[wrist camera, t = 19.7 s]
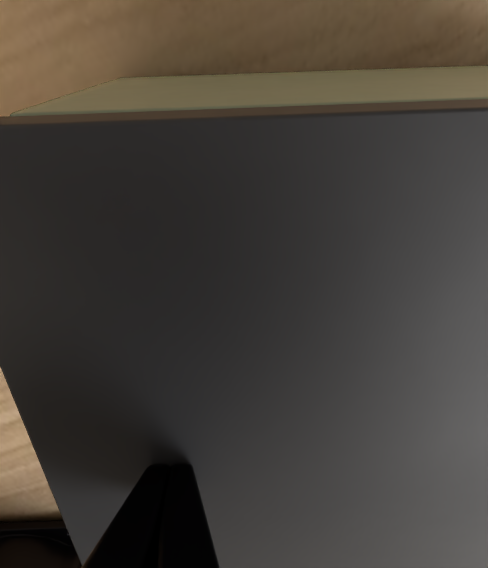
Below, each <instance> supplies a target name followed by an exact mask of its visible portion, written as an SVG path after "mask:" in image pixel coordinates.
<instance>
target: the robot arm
mask: <svg viewBox="0 0 488 568" xmlns="http://www.w3.org/2000/svg"><path fill="white" fill-rule="evenodd" d="M0 568H220V566H219V562H218V559H217V555H216V551H215V548H214V544H213V540H212V536H211V533H210V529H209V525H208V521H207V518H206V514H205V510H204V506H203V503H202V499H201V495H200V491H199V488H198V484H197V480H196V476H195V473H194V469H193V466H192V464H189V463H187V464H174V465H173V466H172V468H171V471H170V468H169V466H168V465H166V464H161V465H150V466H148V467H147V468H146V470H145V471H144V473H143V474H142V476H141V477H140V479H139V480H138V482H137V483H136V485H135V486H134V488H133V489H132V491H131V492H130V494H129V495H128V497H127V499H126V500H125V502H124V503H123V505H122V506H121V508H120V509H119V511H118V512H117V514H116V515H115V517H114V518H113V520H112V521H111V523H110V524H109V526H108V528H107V529H106V531H105V532H104V534H103V535H102V537H101V538H100V540H99V541H98V543H97V544H96V546H95V547H94V549H93V550H92V552H91V553H90V555H89V557H88V558H87V560H86V561H85V563H84V564H83V566H82V564H81V562H80V559H79V557H78V555H77V552H76V550H75V547H74V545H73V542H72V540H71V537H70V535H69V533H68V530H67V528H66V525H65V523H64V521H38V522H12V523H0Z"/></svg>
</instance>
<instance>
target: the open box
mask: <svg viewBox="0 0 488 568" xmlns="http://www.w3.org/2000/svg"><path fill="white" fill-rule="evenodd" d="M472 99H488V65H483V66H453V67H424V68H394V69H365V70H335V71H306V72H276V73H247V74H217V75H188V76H158V77H129V78H119V79H116V80H112V81H109V82H105V83H102V84H99V85H96V86H93V87H90V88H87V89H84V90H81V91H78V92H75V93H72V94H69V95H66V96H63V97H60V98H57V99H53V100H50V101H47V102H44V103H41V104H38V105H35V106H32V107H29V108H26V109H23V110H20V111H17V112H14V113H12V114H11V115H10V116H36V115H63V114H91V113H118V112H145V111H172V110H200V109H227V108H254V107H281V106H309V105H336V104H363V103H390V102H418V101H445V100H472Z"/></svg>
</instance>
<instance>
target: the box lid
mask: <svg viewBox="0 0 488 568" xmlns="http://www.w3.org/2000/svg"><path fill="white" fill-rule="evenodd" d="M0 367H1V369H2V372H3V374H4V376H5V379H6V381H7V384H8V386H9V389H10V391H11V394H12V396H13V398H14V401H15V403H16V406H17V408H18V411H19V413H20V416H21V418H22V420H23V423H24V425H25V428H26V430H27V433H28V435H29V437H30V440H31V442H32V445H33V447H34V450H35V452H36V455H37V457H38V459H39V462H40V464H41V467H42V469H43V472H44V474H45V476H46V479H47V481H48V484H49V486H50V489H51V491H52V494H53V496H54V498H55V501H56V503H57V506H58V508H59V511H60V513H61V516H62V518H63V520H64V523H65V525H66V528H67V530H68V533H69V535H70V537H71V540H72V542H73V545H74V547H75V550H76V552H77V555H78V557H79V559H80V562H81V564H82V566H83V564H84V563H85V561H86V560H87V558H88V557H89V555H90V553H91V552H92V550H93V549H94V547H95V546H96V544H97V543H98V541H99V540H100V538H101V537H102V535H103V534H104V532H105V531H106V529H107V528H108V526H109V524H110V523H111V521H112V520H113V518H114V517H115V515H116V514H117V512H118V511H119V509H120V508H121V506H122V505H123V503H124V502H125V500H126V499H127V497H128V495H129V494H130V492H131V491H132V489H133V488H134V486H135V485H136V483H137V482H138V480H139V479H140V477H141V476H142V474H143V473H144V471H145V470H146V468H147V467H148V466H150V465H161V464H166V465H168V466H169V468H170V471H171V468H172V466H173V465H174V464H187V463H189V464H192V466H193V469H194V473H195V476H196V480H197V484H198V488H199V491H200V495H201V499H202V503H203V506H204V510H205V514H206V518H207V521H208V525H209V529H210V533H211V536H212V540H213V544H214V548H215V551H216V555H217V559H218V562H219V566H220V568H488V99H472V100H445V101H418V102H390V103H363V104H336V105H309V106H281V107H254V108H227V109H200V110H172V111H145V112H118V113H91V114H63V115H36V116H9V117H0Z"/></svg>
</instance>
